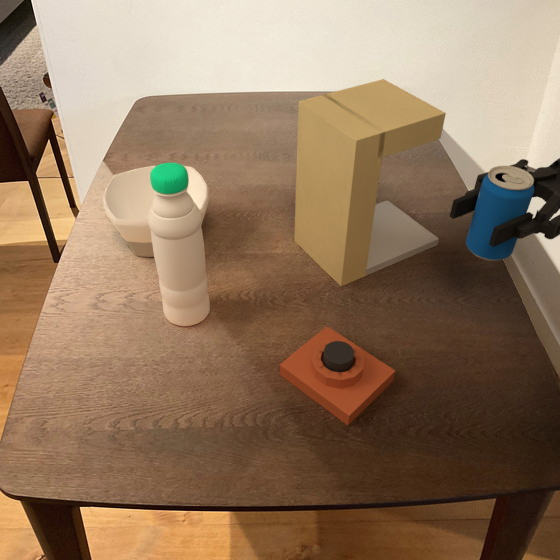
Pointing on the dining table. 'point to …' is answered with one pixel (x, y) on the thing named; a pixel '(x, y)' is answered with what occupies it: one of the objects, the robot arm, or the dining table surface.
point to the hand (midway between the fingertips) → (473, 222)
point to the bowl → (143, 205)
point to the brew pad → (337, 377)
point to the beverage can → (498, 209)
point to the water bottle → (178, 246)
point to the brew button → (338, 356)
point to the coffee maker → (357, 177)
